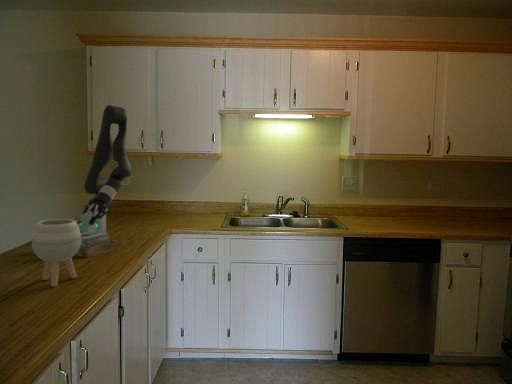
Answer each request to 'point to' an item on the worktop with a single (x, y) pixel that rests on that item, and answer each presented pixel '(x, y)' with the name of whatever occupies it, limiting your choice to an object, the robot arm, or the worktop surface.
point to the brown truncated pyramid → (95, 244)
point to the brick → (87, 223)
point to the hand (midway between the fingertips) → (86, 223)
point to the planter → (56, 246)
